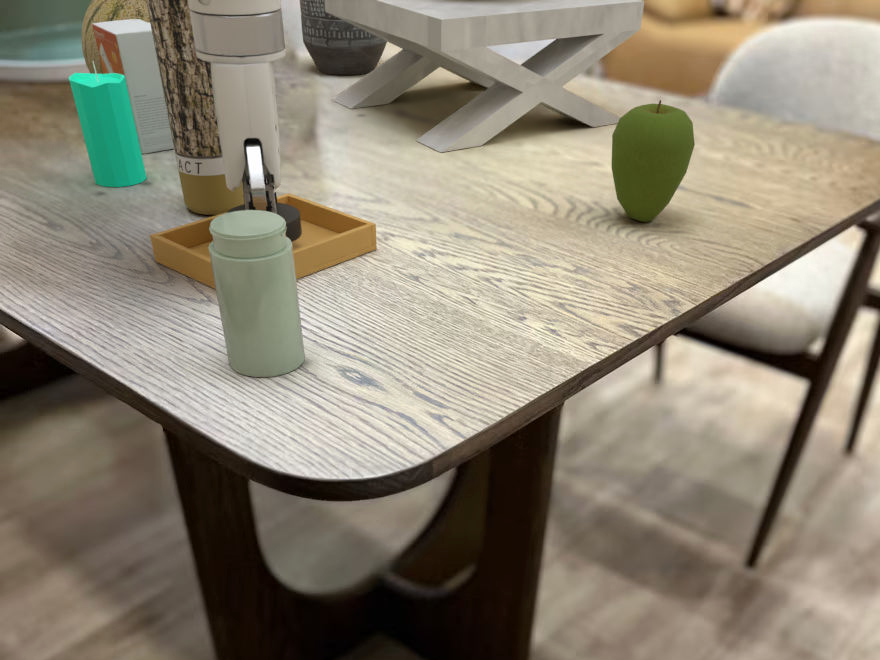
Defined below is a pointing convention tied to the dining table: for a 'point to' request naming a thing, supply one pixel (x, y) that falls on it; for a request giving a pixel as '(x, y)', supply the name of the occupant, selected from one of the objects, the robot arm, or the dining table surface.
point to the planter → (338, 42)
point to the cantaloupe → (107, 5)
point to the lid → (290, 217)
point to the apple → (650, 158)
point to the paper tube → (190, 110)
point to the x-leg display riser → (489, 56)
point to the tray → (316, 249)
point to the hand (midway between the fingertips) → (266, 248)
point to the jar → (257, 292)
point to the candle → (108, 128)
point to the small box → (137, 77)
